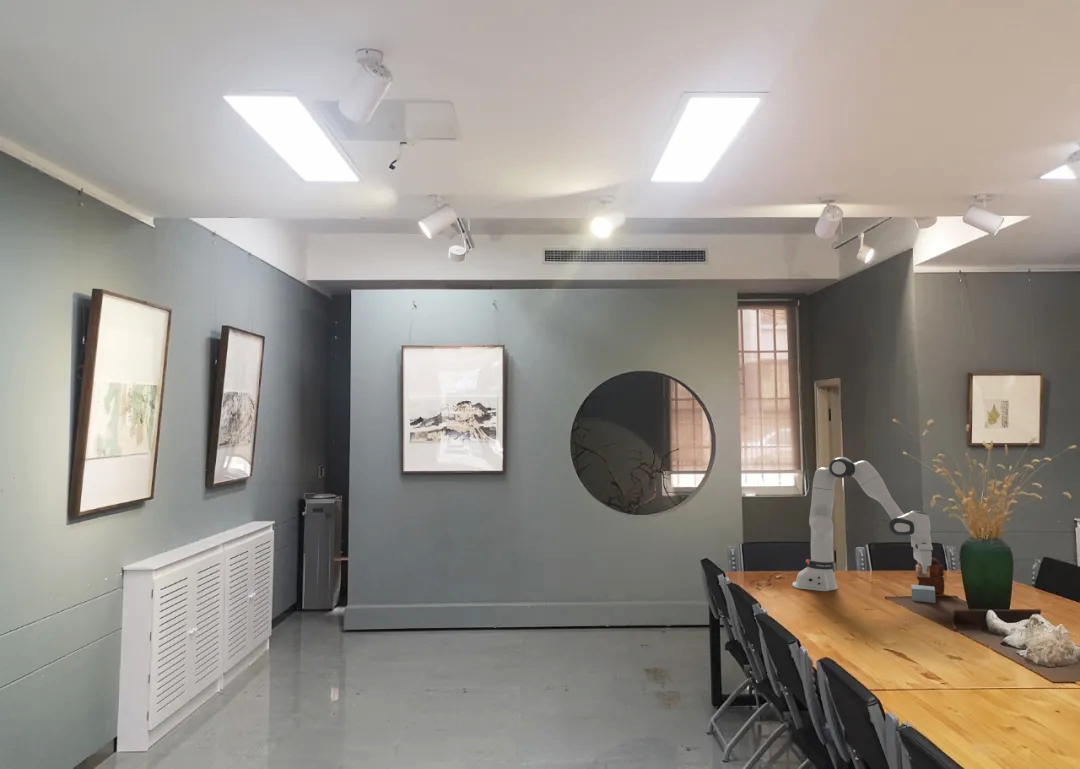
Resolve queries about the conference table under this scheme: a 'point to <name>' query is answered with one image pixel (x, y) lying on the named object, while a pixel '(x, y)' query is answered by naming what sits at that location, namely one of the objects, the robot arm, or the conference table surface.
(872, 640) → the conference table surface
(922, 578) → the wooden figurine
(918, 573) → the terracotta cube
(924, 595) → the slate base block
